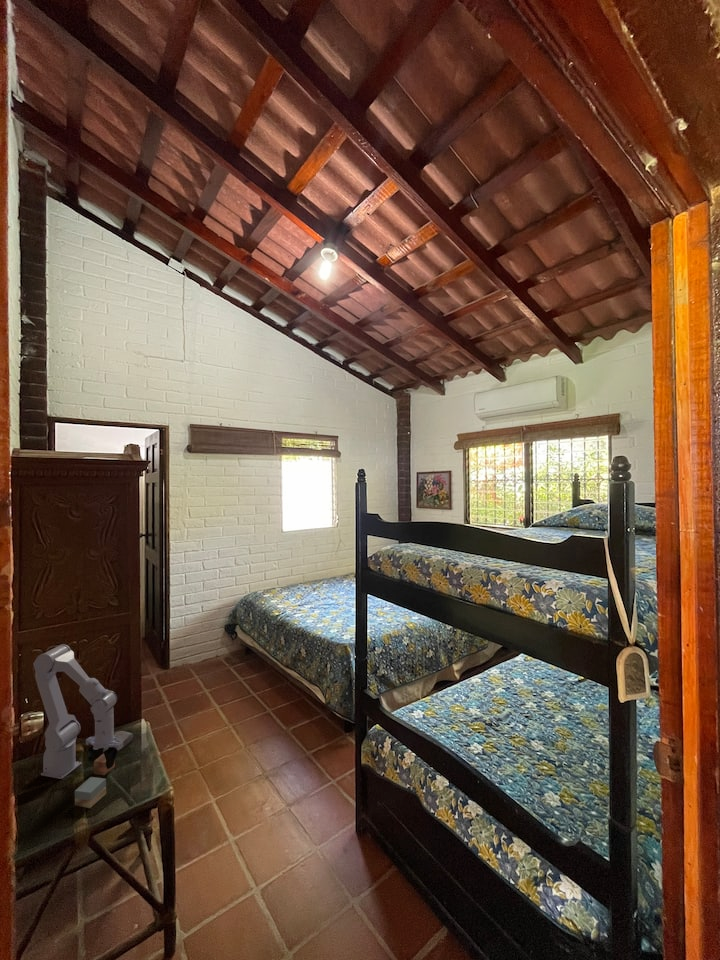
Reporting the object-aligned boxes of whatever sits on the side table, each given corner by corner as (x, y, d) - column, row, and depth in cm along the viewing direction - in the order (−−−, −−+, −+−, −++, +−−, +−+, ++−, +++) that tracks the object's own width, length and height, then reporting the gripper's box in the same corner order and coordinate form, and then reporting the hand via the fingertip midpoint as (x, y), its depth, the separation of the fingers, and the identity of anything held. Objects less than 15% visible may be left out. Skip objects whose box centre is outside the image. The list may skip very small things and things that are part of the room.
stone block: (89, 761, 148) (111, 759, 146) (87, 748, 149) (109, 746, 147) (115, 742, 160) (135, 740, 158) (113, 730, 160) (133, 728, 158)
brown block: (74, 806, 125) (74, 798, 125) (91, 791, 131) (91, 784, 131) (90, 809, 124) (90, 801, 124) (106, 794, 130) (106, 787, 130)
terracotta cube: (93, 773, 139) (93, 761, 139) (104, 764, 144) (104, 752, 144) (104, 775, 138) (104, 762, 138) (114, 766, 143) (114, 754, 143)
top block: (74, 798, 125) (74, 790, 125) (90, 784, 131) (90, 776, 131) (90, 800, 124) (90, 792, 124) (106, 786, 130) (105, 778, 130)
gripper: (78, 732, 139) (78, 771, 139) (111, 737, 136) (111, 777, 135) (95, 721, 146) (95, 757, 145) (127, 725, 143) (127, 763, 142)
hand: (104, 766), depth 141 cm, fingers closed on terracotta cube, 4 cm apart
